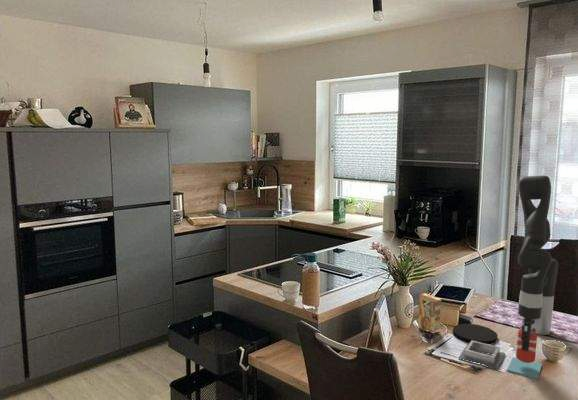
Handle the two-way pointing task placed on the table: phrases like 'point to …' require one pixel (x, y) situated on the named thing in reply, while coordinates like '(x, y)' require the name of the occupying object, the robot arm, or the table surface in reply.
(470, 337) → the black round disc
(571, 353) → the table surface
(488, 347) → the can holder
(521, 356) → the beverage can
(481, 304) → the table surface
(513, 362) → the mat
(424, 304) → the candy box
